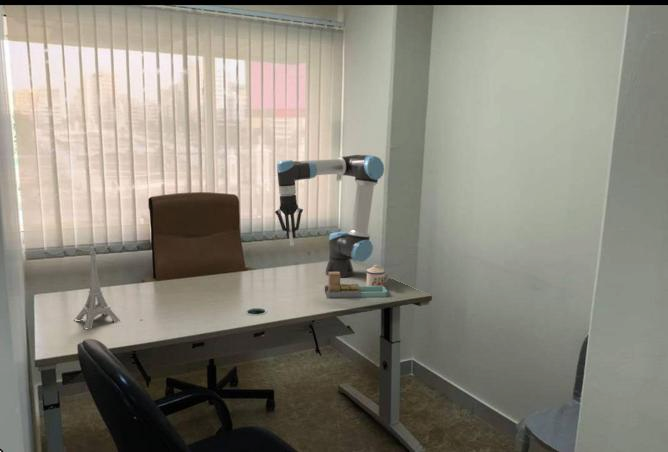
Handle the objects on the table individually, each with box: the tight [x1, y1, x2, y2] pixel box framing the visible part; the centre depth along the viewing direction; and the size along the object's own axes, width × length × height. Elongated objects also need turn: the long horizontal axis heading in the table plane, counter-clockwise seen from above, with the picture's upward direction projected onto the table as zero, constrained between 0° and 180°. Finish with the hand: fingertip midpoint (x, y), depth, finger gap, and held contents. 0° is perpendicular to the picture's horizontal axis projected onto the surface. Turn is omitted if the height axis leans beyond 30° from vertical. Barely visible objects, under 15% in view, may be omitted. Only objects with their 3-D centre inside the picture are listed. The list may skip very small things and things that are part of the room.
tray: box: [359, 285, 389, 298], centre depth 234 cm, size 10×12×3 cm
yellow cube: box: [349, 283, 360, 291], centre depth 233 cm, size 4×4×4 cm
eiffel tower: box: [74, 246, 121, 328], centre depth 194 cm, size 13×13×30 cm
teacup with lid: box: [365, 264, 389, 287], centre depth 246 cm, size 12×9×12 cm
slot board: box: [324, 284, 363, 299], centre depth 233 cm, size 12×16×4 cm
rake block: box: [327, 272, 341, 291], centre depth 232 cm, size 5×5×10 cm
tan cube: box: [340, 283, 350, 291], centre depth 233 cm, size 4×4×4 cm
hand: (292, 245), depth 231 cm, fingers closed
